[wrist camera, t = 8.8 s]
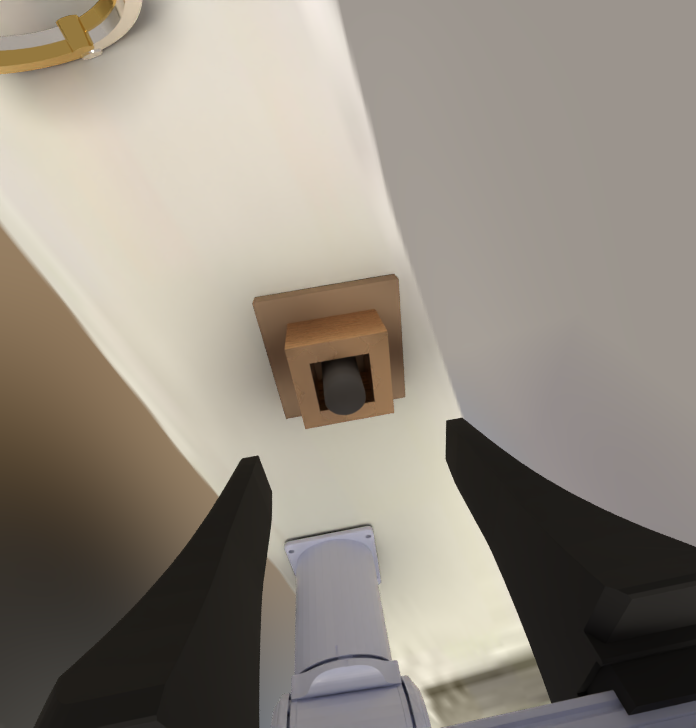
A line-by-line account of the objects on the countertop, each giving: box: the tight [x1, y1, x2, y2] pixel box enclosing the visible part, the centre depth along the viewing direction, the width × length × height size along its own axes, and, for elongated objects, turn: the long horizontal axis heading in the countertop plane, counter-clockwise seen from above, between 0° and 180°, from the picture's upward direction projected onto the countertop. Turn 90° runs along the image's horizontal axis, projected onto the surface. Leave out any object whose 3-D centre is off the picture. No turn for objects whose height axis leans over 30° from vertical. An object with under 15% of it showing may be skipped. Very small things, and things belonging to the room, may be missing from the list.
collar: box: [285, 309, 394, 429], centre depth 18 cm, size 5×5×3 cm
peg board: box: [252, 274, 405, 419], centre depth 18 cm, size 8×8×6 cm
